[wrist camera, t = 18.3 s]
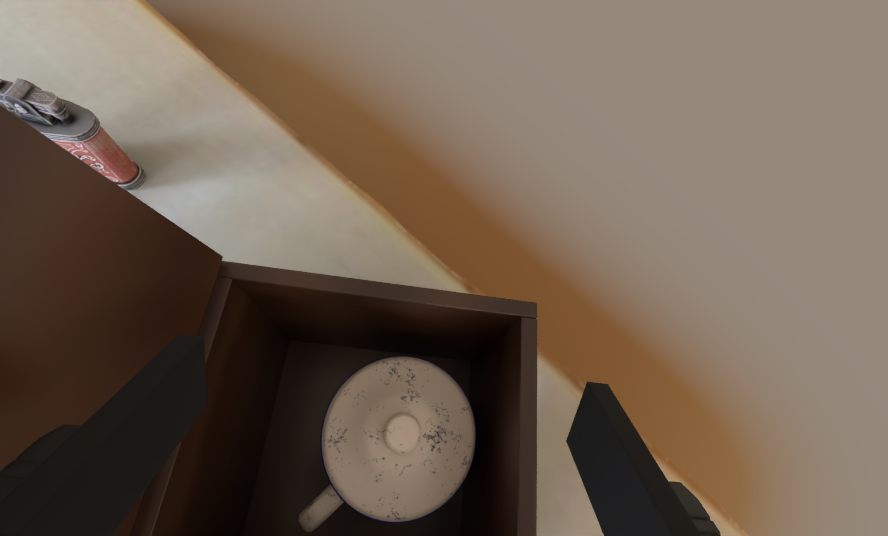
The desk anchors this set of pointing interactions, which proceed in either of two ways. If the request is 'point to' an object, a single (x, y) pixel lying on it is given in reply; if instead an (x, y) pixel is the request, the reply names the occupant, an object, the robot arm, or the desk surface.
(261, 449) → the chest
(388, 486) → the teacup with lid
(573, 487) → the desk surface
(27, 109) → the lighter
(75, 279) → the chest lid
